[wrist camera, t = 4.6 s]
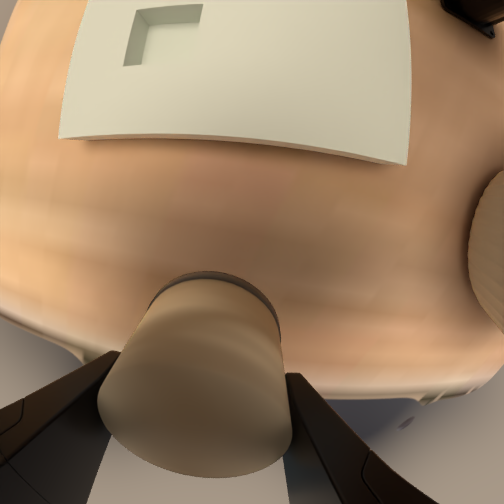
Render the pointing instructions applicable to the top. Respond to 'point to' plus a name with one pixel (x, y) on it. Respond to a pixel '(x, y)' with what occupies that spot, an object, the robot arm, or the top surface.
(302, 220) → the top surface
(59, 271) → the top surface
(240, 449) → the peg
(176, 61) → the board
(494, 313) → the canister
